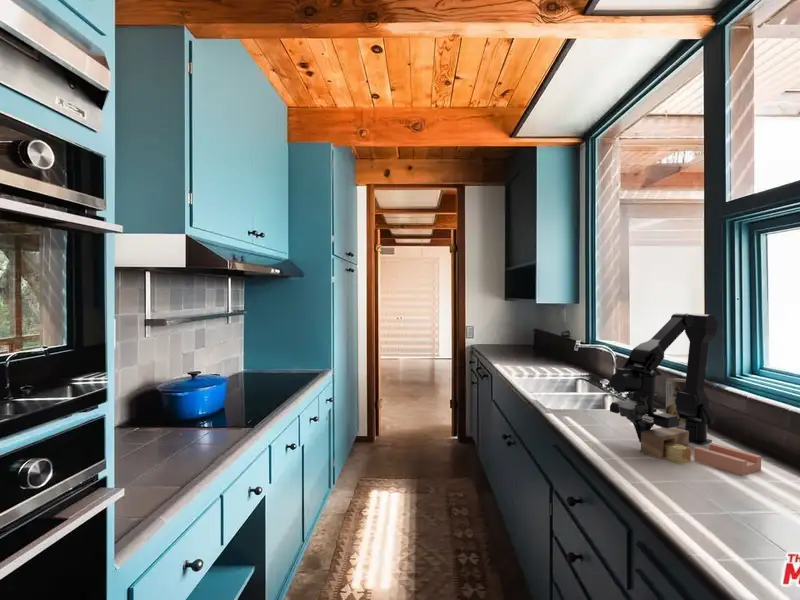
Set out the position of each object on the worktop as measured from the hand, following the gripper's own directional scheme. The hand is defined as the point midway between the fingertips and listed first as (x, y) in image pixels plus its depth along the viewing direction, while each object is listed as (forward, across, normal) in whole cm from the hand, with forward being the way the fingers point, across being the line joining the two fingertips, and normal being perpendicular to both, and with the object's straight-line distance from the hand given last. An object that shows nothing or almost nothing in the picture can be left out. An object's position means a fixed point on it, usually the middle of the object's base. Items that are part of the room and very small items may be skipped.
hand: (641, 442), depth 141 cm
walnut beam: (+1, +5, +3) cm, 6 cm away
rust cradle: (+1, +19, +8) cm, 21 cm away
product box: (+2, -9, +34) cm, 35 cm away
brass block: (+2, +7, 0) cm, 7 cm away
